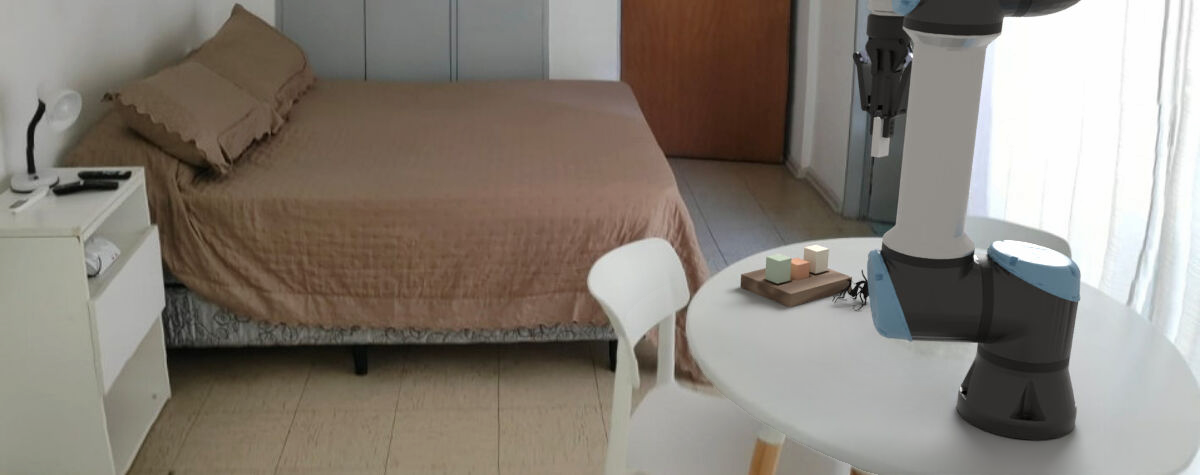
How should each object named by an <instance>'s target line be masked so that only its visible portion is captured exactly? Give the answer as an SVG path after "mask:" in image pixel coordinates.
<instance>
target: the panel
mask: <svg viewBox="0 0 1200 475" xmlns="http://www.w3.org/2000/svg"><path fill="white" fill-rule="evenodd" d="M765 273H766V267H765V268H760V269H757V270H753V271H752V270H751V271H748V272H745V273H741V274H740V288H741V289H743V290H745V291H749V292H751V293H752V294H753V293H754V294H755V295H758V296H761V297H762V298H766V299H768V300H771V301H773V302H775V303H778V304H781V305H783V306H784V307H785V306H786V307H788V308H793V307H797V306H800V305H803V304H807V303H811V302H814V301H818V300H821V299H825V298H828V297H831V296H836V295H840V293H841V292H838V291H840V290H843V289H845V288H847V286H848V285H849V281H847V279H848V278H849V279H850V280H851V281H853V276H850V275H847V274H844V273H841V272H839V271H836V270H833V269H831V268H828V269H827V271H824V272H820V273H816V274H815V273H812V272H809V278H805V279H802V280H798V281H796V280H793V279H791V278H790V281H786V282H782V283H778V284H777V283H775V282H772V281H769V280H767V279H765ZM851 287H852V284H851V286H850V288H849V289H848V290H849V292H850V291H851ZM836 292H838V293H836ZM844 292H845V291H843V292H842V294H844ZM835 293H836V294H835ZM834 294H835V295H834Z"/></svg>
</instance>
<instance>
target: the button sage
mask: <svg viewBox="0 0 1200 475" xmlns="http://www.w3.org/2000/svg"><path fill="white" fill-rule="evenodd" d="M792 259H793V258H792V257H789V256H787V255H784V254H781V253H776V254H771V255H767V256H766V258H765V260H766V261H765V263H766V264H765V268H766V273H765V279H767V280H769V281H772V282H775V283H777V284H778V283H782V282H786V281H790V275H791V260H792Z"/></svg>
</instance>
